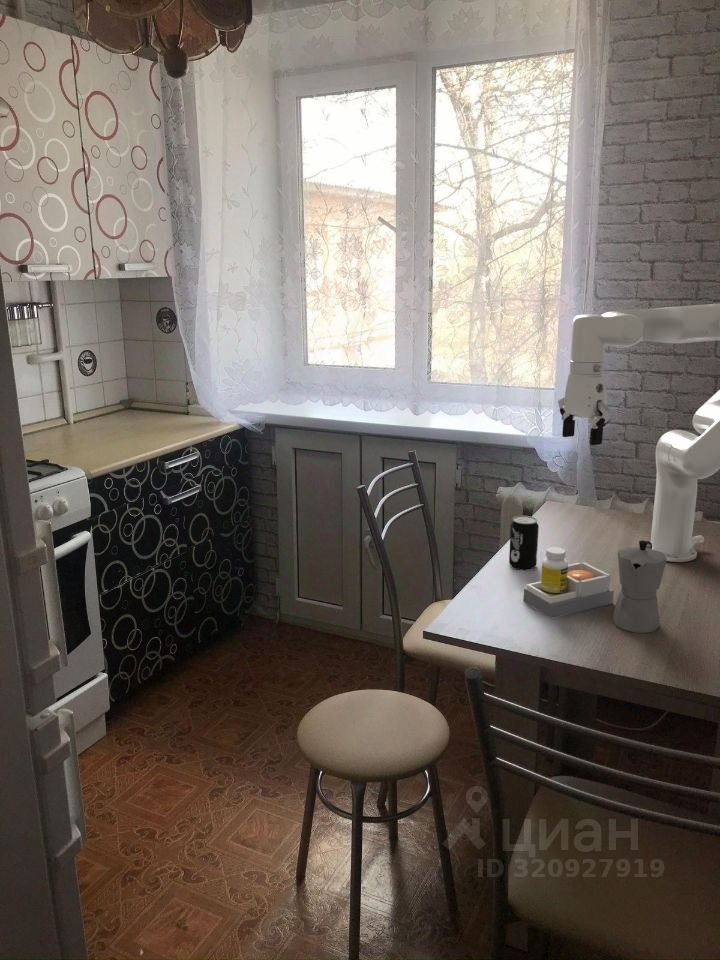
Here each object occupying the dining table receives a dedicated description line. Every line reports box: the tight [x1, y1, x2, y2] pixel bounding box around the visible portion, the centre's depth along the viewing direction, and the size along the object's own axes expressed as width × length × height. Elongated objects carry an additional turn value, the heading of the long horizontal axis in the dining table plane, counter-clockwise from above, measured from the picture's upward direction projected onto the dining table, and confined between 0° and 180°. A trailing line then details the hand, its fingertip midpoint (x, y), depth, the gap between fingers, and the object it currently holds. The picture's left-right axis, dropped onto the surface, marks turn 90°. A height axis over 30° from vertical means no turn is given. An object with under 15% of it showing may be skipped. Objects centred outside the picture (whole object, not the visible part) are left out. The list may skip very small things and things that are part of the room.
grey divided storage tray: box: [522, 561, 615, 619], centre depth 169 cm, size 17×10×6 cm, turn 115°
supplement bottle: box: [540, 546, 569, 597], centre depth 166 cm, size 5×5×10 cm
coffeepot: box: [612, 540, 668, 634], centre depth 158 cm, size 15×9×18 cm, turn 151°
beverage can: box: [508, 515, 540, 571], centre depth 189 cm, size 7×7×12 cm
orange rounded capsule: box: [567, 570, 594, 590], centre depth 170 cm, size 6×6×5 cm
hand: (581, 440), depth 186 cm, fingers open, 9 cm apart
